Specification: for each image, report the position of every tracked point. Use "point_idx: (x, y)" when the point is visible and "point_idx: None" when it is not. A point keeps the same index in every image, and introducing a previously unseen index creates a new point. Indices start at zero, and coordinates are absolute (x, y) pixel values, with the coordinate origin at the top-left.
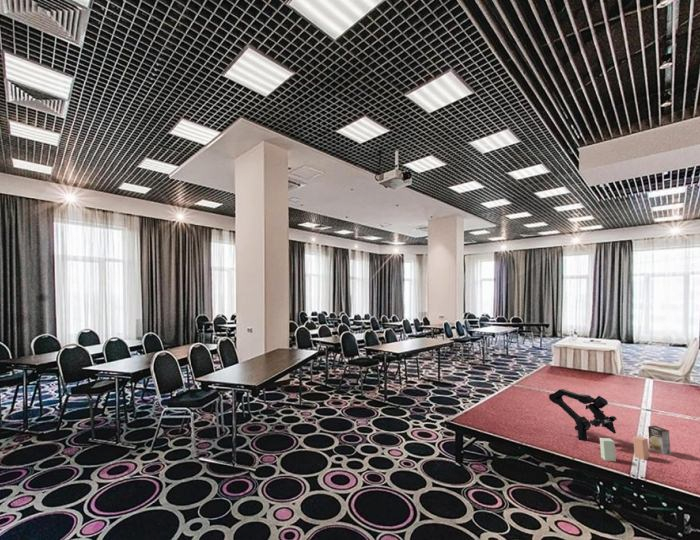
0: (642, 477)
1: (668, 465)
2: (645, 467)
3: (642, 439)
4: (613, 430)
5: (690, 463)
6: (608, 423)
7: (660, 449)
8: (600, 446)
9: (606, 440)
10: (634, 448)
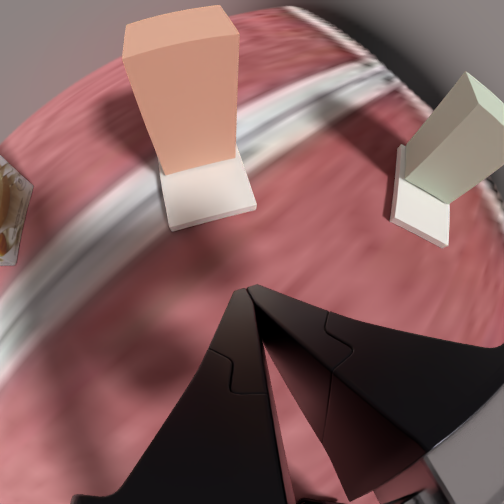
0: (366, 63)
1: None
2: (280, 90)
3: (197, 10)
4: (287, 296)
5: (34, 119)
6: (471, 346)
7: (12, 183)
8: (487, 174)
9: (499, 102)
10: (235, 114)
